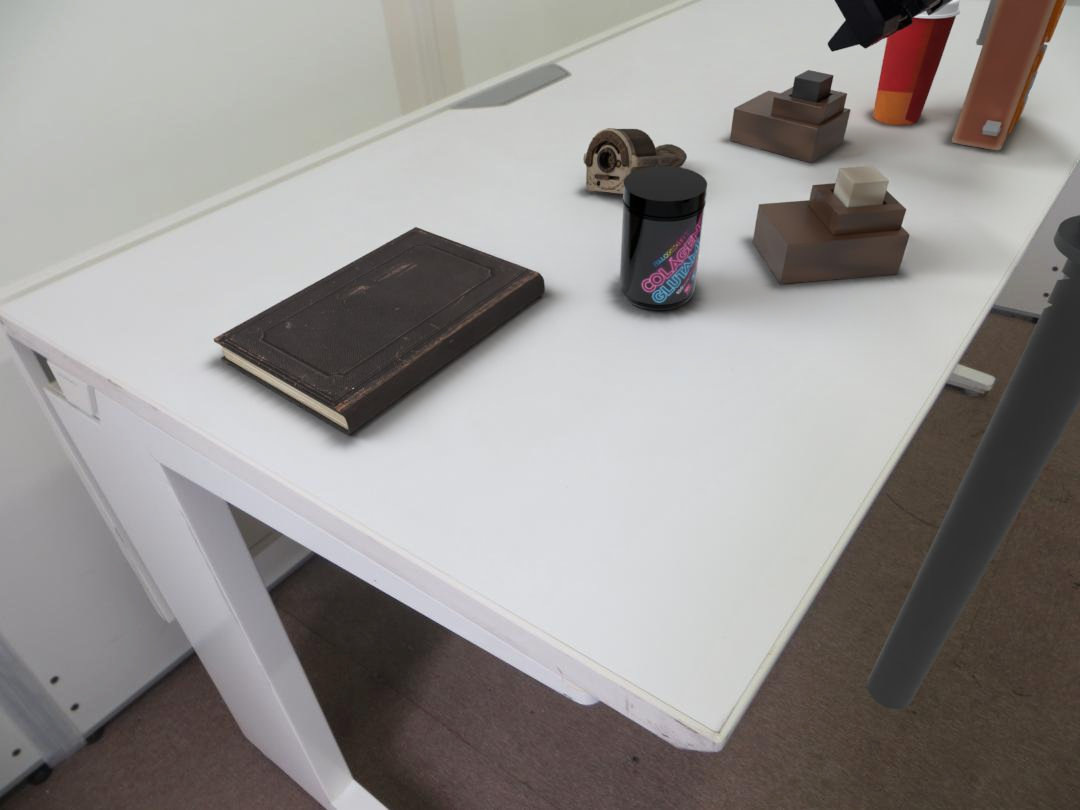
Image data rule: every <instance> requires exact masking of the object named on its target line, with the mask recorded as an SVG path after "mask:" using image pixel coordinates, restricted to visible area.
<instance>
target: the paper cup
mask: <svg viewBox="0 0 1080 810" xmlns="http://www.w3.org/2000/svg"><path fill="white" fill-rule="evenodd" d="M960 14H961V8H960V0H952V1H951V2H950V3H948V4H947V5H945V6H944V7H943V8H941V9H940V10H938V11H937V12H935V13H933V14H931V15H929V16H928V14H927V12H926V11H925V12H923V13H921V14H919V15H917V16H915V17H913V18H912V19H913V24H912V25H910V26H908V27H906V28H904V29H902V30H899V31H897V32H896V33H895V34H893V35H891V36H889V37H887V38H886V42H885V46H884V52H883V58H882V63H881V67H880V74H879V78H878V79H879V80H878V85H877V90H876V95H875V101H874V107H873V113H872V117H873V119H875V120H876V121H878V122H880V123H883V124H886V125H892V126H910V125H914V124H917V123H918V122H919V120H920V118H921V116H922V113H923V111H924V108H925V105H926V103H927V100H928V97H929V94H930V91H931V89H932V86H933V83H934V80H935V77H936V75H937V72H938V69H939V66H940V64H941V61H942V58H943V56H944V52H945V48H946V46H947V43H948V40H949V37H950V36H951V35H950V34H951V31H952V29H953V26H954V23H955V20H956V17H957V16H958V15H960Z"/></svg>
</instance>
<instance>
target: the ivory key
mask: <svg viewBox="0 0 1080 810" xmlns="http://www.w3.org/2000/svg"><path fill="white" fill-rule="evenodd" d="M889 182H890V180H889V179H888V178H887V177H886V176H885V175H884V174H883V173H882V172H881V171H880V170H879V169H878V168H876V166H874V165H864V166H851V167H850V166H849V167H840V168H838V171H837V176H836V181H835V183H836V184H835V189H834V195H835V196H836V197H837V198H838V199H839V200H840V201H841V202H842V203H843V204H844V206H845V207H846V208H847V207H860V206H873V205H882V204H883V201H884V197H885V193H886V190H887V191H888V185H889Z"/></svg>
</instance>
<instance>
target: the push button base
mask: <svg viewBox="0 0 1080 810" xmlns="http://www.w3.org/2000/svg"><path fill="white" fill-rule="evenodd" d="M792 90H793V86H792V87H789V88H788V89H786V90H784V91H782V92H778V91H772V90H767V91H765V92H762V93H761V94H759V95H757V96H755V97H753V98H751V99H749V100H746V101H745V102H743V103H741V104H739V105H738V106H735V107H734V108H733V113H732V121H731V129H730V136H729V141H731V142H734V143H738V144H742V145H744V146H749V147H752V148H755V149H759V150H764V151H767V152H770V153H774V154H777V155H781V156H784V157H788V158H792V159H796V160H799V161H803V162H806V163H809V164H812V163H813V162H815V161H817V160H818V159H820V158H821V157H822V156H824V155H826V154H827V153H829V152H830V151H832V150H833V149H835V148H836V147H838V146H840V145H841V144H842V143H844V140H845V136H846V131H847V127H848V122H849V119H850V115H851V108H847V107H845V106H846V105H845V104H846V101H847V96H848V93H847V92H843V91H838V90H834V89H831V91H830V96H829V97H827V98H826V99H824V100H822V101H820V102H818V103H816V102H812V101H807V100H803V99H799V98H794V97H791V96H792Z"/></svg>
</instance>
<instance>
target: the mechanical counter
mask: <svg viewBox="0 0 1080 810" xmlns="http://www.w3.org/2000/svg"><path fill="white" fill-rule="evenodd" d="M687 158H688V156H687V153H686V152H685V150H683V149H682V148H681V147H679V146H677V145H674V144H670V143H665V144H661V145H658V146H655V143H654V140H653V139H652V138H651V137H650V135H648V133H647V132H645V131H644V130H641V129H639V128H614V127H613V128H612V127H607V128H604V129H602V130H599V131H598V132H597V133H596V134H595V135H594V136H593V137H592V138H591V140H590V142H589V145H588V147H587V151H586V152H585V153H584V154H583V158H582V159H583V164H584V165H585V166H586V167H585V168H586V169H585V170H586V173H585V174H586V176H585V177H586V178H585V190H586V191H592V192H602V193H603V192H605V193H612V194H621V195H623V187H624V179H625V178H626V176H627V175H629V174H630V173H632V172H634V171H636V170H639V169H642V168H646V167H653V166H673V167H680V168H681V167H682V166H683V165H684V164H685V162H686V160H687Z"/></svg>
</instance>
